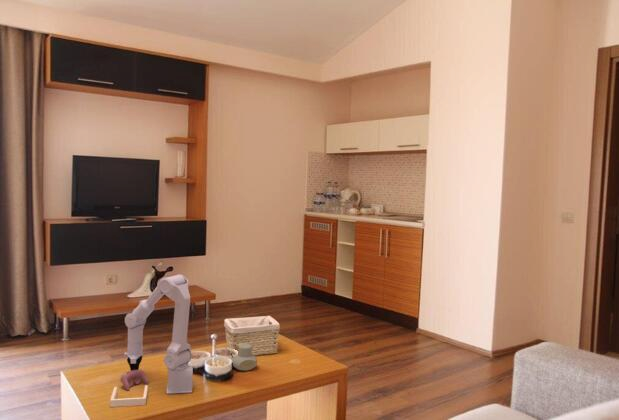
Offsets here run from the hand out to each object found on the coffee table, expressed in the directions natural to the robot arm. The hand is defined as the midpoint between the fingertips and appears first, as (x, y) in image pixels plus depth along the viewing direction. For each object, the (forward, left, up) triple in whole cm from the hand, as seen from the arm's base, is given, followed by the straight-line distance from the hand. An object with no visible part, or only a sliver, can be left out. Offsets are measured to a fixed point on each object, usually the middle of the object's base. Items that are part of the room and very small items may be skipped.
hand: (134, 374), depth 211 cm
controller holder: (0, +19, -1) cm, 19 cm away
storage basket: (-51, -27, -2) cm, 57 cm away
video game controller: (-1, +8, -2) cm, 8 cm away
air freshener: (-45, -5, -2) cm, 45 cm away
